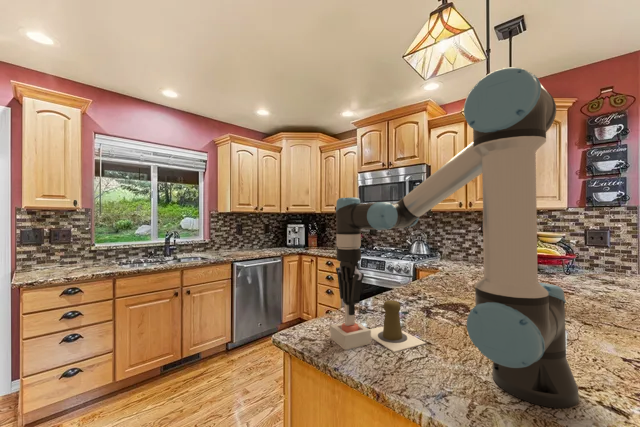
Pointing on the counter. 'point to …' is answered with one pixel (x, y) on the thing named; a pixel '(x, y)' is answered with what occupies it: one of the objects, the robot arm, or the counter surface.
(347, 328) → the button
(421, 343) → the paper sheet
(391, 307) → the brown pepper grinder
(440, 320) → the counter surface
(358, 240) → the robot arm
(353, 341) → the button housing
